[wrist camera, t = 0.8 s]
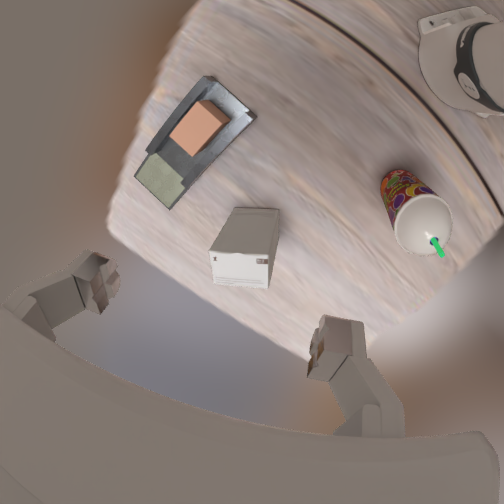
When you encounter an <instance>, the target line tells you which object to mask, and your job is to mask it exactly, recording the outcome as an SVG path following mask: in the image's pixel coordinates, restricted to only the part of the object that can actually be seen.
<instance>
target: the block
mask: <svg viewBox="0 0 504 504" xmlns="http://www.w3.org/2000/svg"><path fill="white" fill-rule="evenodd" d="M230 121H231V120H230V119H229V118H228V117H227V116H226V115H225V114H224V113H223V112H222V111H221V110H220V109H218V108H217V107H216V106H215V105H214V104H213V103H212V102H211V101H209V100H203V101H197V102H196V103H195V105H194V106H193V107H192V108H191V109H190V110H189V112H188V113H187V114H186V115H185V116H184V118H183V119H182V120H181V121H180V123H179V124H178V125H177V126H176V128H175V129H174V130H173V132H172V133H171V134H170V135H169V136H170V137H171V138H172V139H173V140H174V141H175V142H176V143H178V144H179V145H180V146H181V147H182V148H183V149H184V150H185V151H186V152H187V153H188V154H189V155H191V156H192V157H193V156H195V155H196V154H198V153H199V152H201V151H203V150H204V149H205V147H206V146H207V145H208V144H209V143H210V142H211V141H212V140H213V139H214V138H215V137H216V135H217V134H218V133H219V132H220V131H221V130H222V129H223V128H224V127H225V126H226V125H227V124H228V123H229V122H230Z"/></svg>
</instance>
